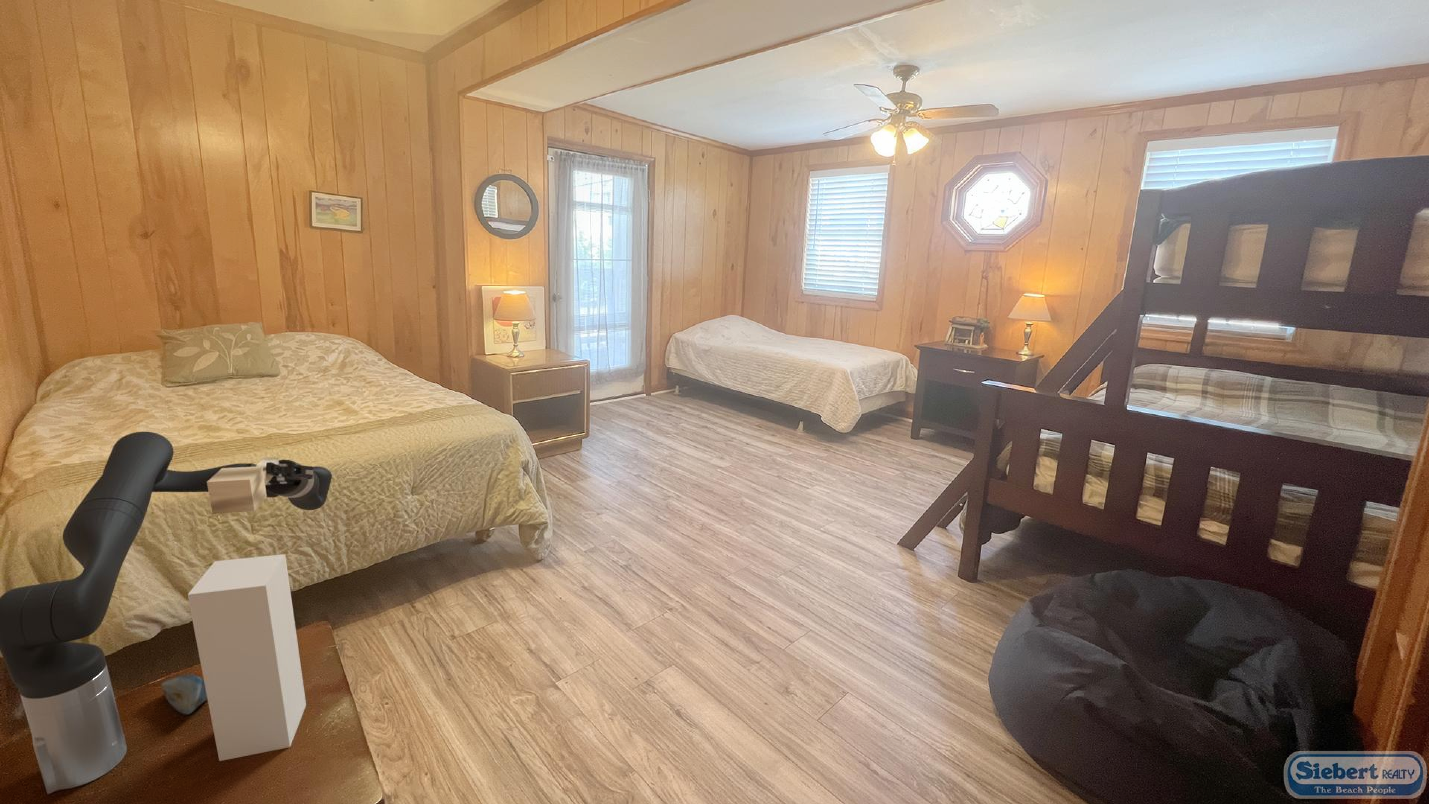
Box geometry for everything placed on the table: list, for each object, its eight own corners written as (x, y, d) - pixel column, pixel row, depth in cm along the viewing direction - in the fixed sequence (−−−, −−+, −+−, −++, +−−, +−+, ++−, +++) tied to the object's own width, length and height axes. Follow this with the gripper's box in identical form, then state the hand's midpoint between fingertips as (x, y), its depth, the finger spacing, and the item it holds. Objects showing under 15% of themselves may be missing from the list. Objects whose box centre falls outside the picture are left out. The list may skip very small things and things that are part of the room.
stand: (290, 747, 102) (265, 585, 94) (219, 761, 99) (187, 594, 90) (306, 705, 111) (285, 554, 103) (241, 716, 108) (214, 561, 99)
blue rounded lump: (176, 670, 114) (143, 677, 105) (230, 672, 116) (202, 679, 107) (164, 706, 112) (129, 717, 103) (220, 707, 114) (190, 717, 105)
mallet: (254, 510, 103) (249, 479, 101) (212, 514, 101) (206, 481, 99) (290, 468, 121) (286, 440, 119) (254, 469, 119) (250, 442, 117)
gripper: (252, 464, 127) (215, 450, 111) (327, 460, 132) (302, 447, 116) (249, 499, 125) (212, 490, 110) (325, 494, 130) (300, 485, 114)
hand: (259, 468), depth 113 cm, fingers closed on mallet, 2 cm apart
